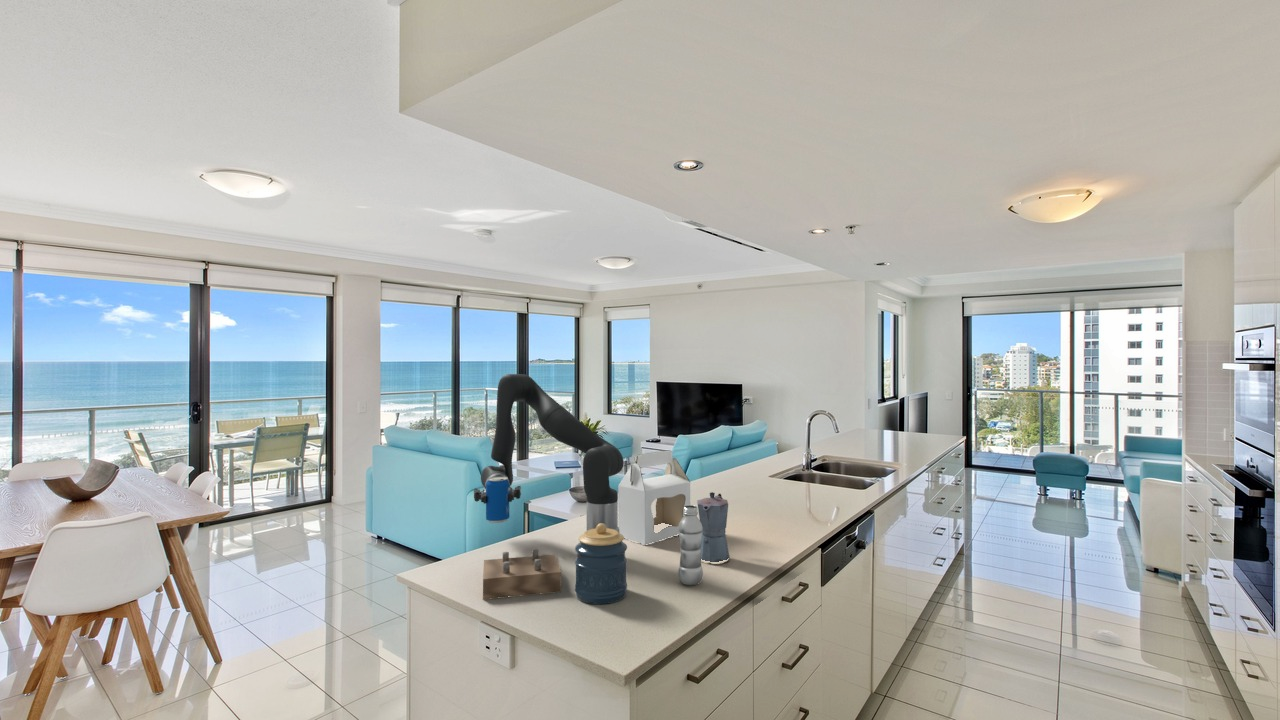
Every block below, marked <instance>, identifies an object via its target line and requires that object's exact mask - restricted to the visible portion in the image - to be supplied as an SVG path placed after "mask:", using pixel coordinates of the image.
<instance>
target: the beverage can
mask: <svg viewBox="0 0 1280 720" xmlns="http://www.w3.org/2000/svg"><path fill="white" fill-rule="evenodd" d="M507 479H508V478H507V477H491V478H488V479H487V480H488V481H487V482H486V504H485V520H486V521H488V522H489V523H491V524H500V523H505V522H506V521H507V520H509V519H510V502H509V481H508V480H507Z"/></svg>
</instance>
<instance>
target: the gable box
mask: <svg viewBox="0 0 1280 720" xmlns="http://www.w3.org/2000/svg"><path fill="white" fill-rule="evenodd" d="M633 458H634V463H632V464H631V465H630V467H629V468H628V469H627V471H626V473H625V475H624V476H623V478H622V479H621V480H620V482H619V484H618V487H617V490H618V491H617V493H618V527H619V533H620V534H622V535H623V536H624V538H627V539H630V540H633V541H636V542H639V543H642V544H644V545H646V544H649V543H652V542H656V541H659V540H662V539H665V538H668V537H671V536H674V535H677V534H679V528H678V527H679V523H680V522H681V520H682V518H683V517H684V514H683V512H684V506H687V505H691V481H690V479H689V477H688V476H687V474H686V473H685V471H684V470H683V468H682V466H681V464H680V462H679V461H678V460H677V459H678V458H676V457H673V451H672V450H671V449H668V450H660V451H654V452H653V451H652V452H647V453H646V452H645V453H640V454H637V455H636V456H635V457H633ZM661 465H666V468H665V471H664V474H663V475H659V476H653V477H648V478H643V475H642V469H643V468H648V467H655V466H661ZM654 501H656V503H655V516H654V515H653V512H652V511H653V510H652V505H653V502H654ZM661 523H665V524H669V525H672V526H668V527H666V528H664V529H662V530H661V531H660V532H658V533H655V532H654V525H658V524H661ZM644 545H643V546H644Z"/></svg>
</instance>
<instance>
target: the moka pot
mask: <svg viewBox="0 0 1280 720" xmlns="http://www.w3.org/2000/svg"><path fill="white" fill-rule="evenodd" d="M696 501H697V502H696V504H697V512H698V519H699V520H700V522H701V524H702V527H703V529H702V538H701V548H700V549H701V552H700V554H701V559H702V560H705V561H710V562H719V561H723V560H727V559H728V558H729V559H730V553H729V552H730V551H729V548H728V547H729V546H728V542H727V541H728V540H727V535H726V532H727V531H726V528H727V522H728V513H729V512H728V511H729V502H728V499H725V498H723V497H722V494H721V493H718V494H717V495H715V492H713V491H711V492H709V497H703V498H701V499H698V500H696Z"/></svg>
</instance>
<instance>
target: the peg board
mask: <svg viewBox="0 0 1280 720" xmlns="http://www.w3.org/2000/svg"><path fill="white" fill-rule="evenodd" d="M539 551H540V549H532V555H529V556H518V557H517V556H515V557H510V551H503V552H502V558H495V559H483V573H482V574H483V575H482V600H483V599H485V600H491V599H490V598H495V599H499V598H498V597H505V598H509V597H508V596H515V597H521V596H520V595H525V596H534V595H533V594H535V595H541V594H540V593H545V594H552V593H553V592H555V593H561V592H562V571H561V568H560V564H559V561H558V558H557V556H556V554H554V553H553V554H541V555H539V553H540V552H539Z"/></svg>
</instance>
